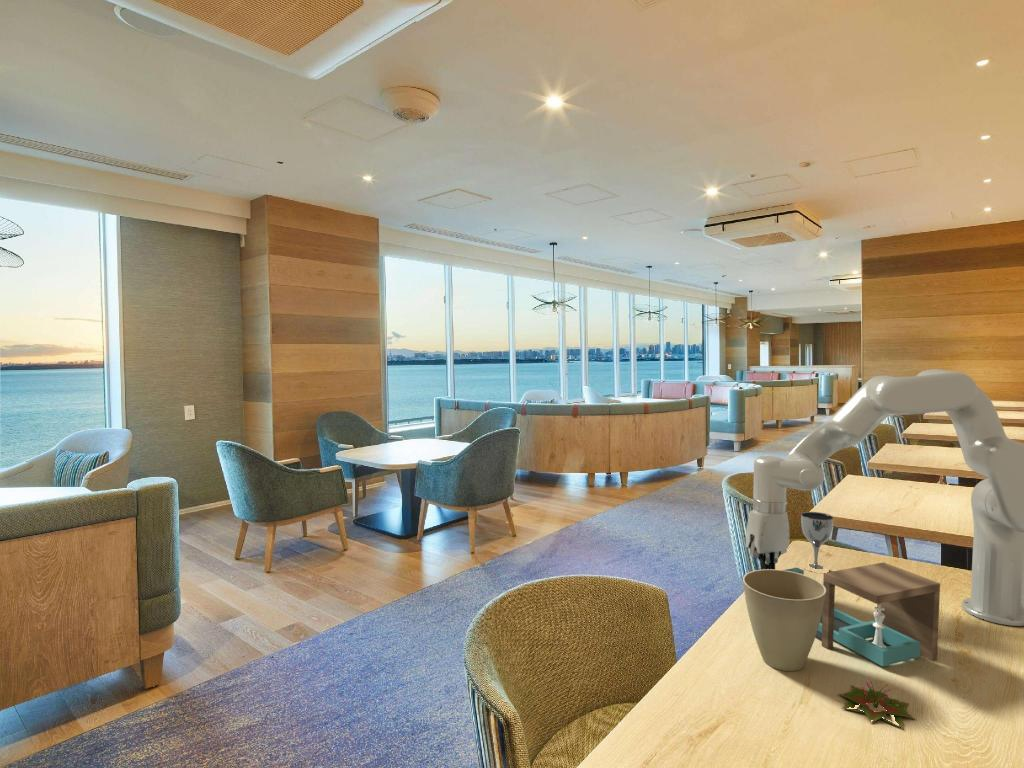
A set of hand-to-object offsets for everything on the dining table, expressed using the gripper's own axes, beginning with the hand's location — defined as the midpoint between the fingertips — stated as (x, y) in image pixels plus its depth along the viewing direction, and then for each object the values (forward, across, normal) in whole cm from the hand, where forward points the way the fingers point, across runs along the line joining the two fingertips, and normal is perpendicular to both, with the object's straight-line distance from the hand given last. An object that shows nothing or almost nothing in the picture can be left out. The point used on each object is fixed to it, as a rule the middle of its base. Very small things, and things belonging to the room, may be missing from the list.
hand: (767, 577), depth 148 cm
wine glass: (+4, -25, -9) cm, 27 cm away
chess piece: (+4, 0, +30) cm, 31 cm away
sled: (+3, 0, +20) cm, 20 cm away
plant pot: (+4, +21, +26) cm, 34 cm away
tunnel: (+4, 0, +25) cm, 25 cm away
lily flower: (+5, +17, +44) cm, 47 cm away
